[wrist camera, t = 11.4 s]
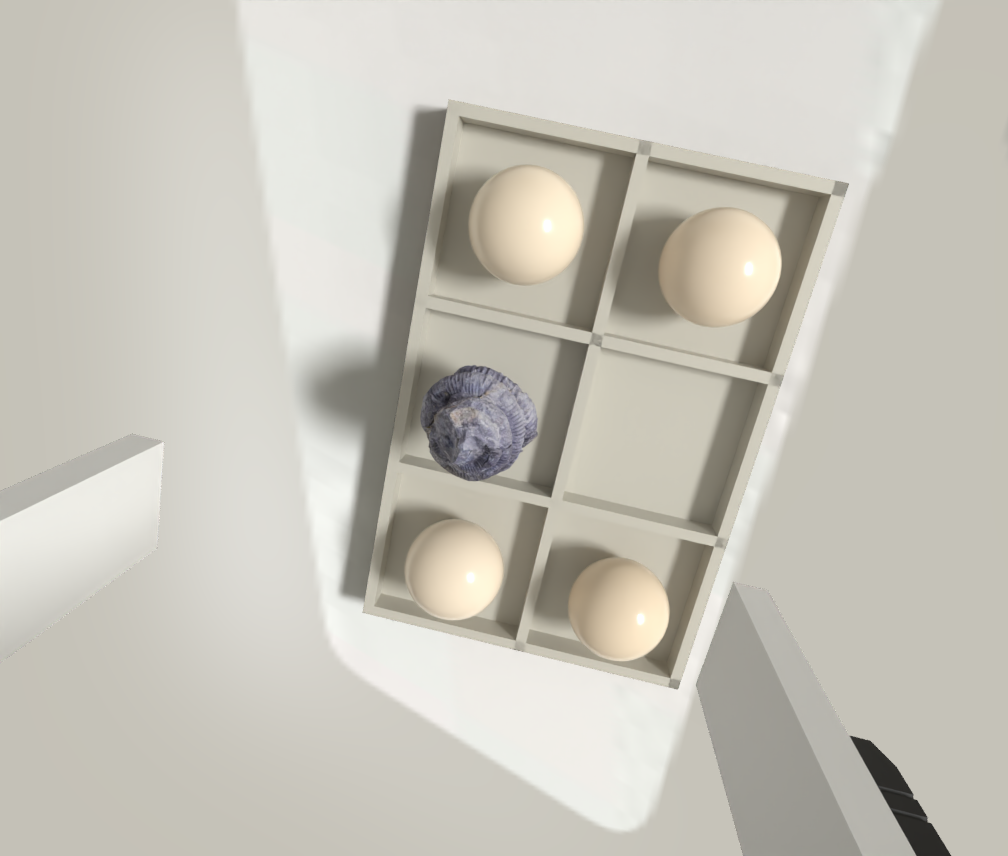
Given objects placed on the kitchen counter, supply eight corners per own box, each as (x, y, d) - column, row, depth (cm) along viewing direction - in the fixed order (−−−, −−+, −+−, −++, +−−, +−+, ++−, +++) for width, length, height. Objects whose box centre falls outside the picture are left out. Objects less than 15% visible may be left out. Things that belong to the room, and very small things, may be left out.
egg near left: (488, 161, 32) (472, 144, 27) (594, 184, 32) (599, 171, 27) (467, 270, 34) (449, 274, 28) (569, 293, 33) (568, 301, 28)
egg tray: (456, 108, 32) (448, 99, 30) (832, 187, 31) (848, 183, 29) (372, 595, 40) (362, 612, 38) (672, 668, 39) (677, 689, 37)
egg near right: (668, 200, 32) (687, 190, 27) (776, 223, 32) (817, 217, 26) (639, 308, 33) (652, 319, 28) (742, 331, 33) (775, 346, 28)
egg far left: (425, 494, 37) (402, 534, 32) (516, 516, 37) (508, 559, 32) (410, 576, 39) (385, 627, 33) (497, 597, 38) (486, 651, 33)
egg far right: (580, 531, 37) (581, 576, 32) (673, 553, 37) (690, 602, 31) (558, 612, 38) (556, 668, 33) (648, 634, 38) (660, 694, 33)
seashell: (440, 437, 36) (393, 503, 27) (452, 342, 35) (407, 377, 25) (534, 453, 36) (521, 527, 26) (550, 359, 34) (543, 399, 25)
